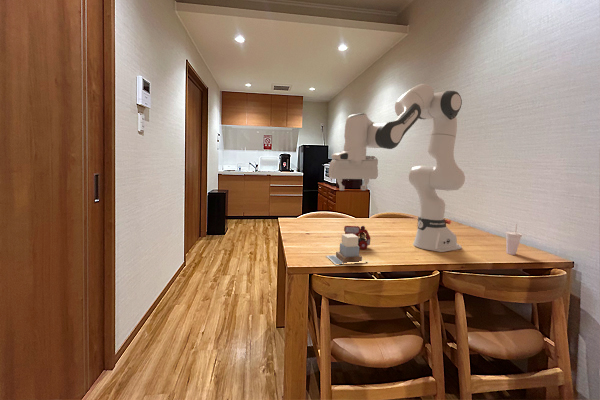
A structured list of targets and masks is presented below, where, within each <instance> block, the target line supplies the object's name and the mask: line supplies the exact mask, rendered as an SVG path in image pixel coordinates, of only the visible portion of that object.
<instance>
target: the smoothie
mask: <svg viewBox="0 0 600 400" xmlns="http://www.w3.org/2000/svg"><path fill="white" fill-rule="evenodd" d="M517 227H518V224H515V228H514V231H505V235H506V236H505V240H506V243H505V244H506V245H505V246H506V247H505V248H506V254H508V255H511V256H512V255H513V256H515V255H517V252H518V248H519V245H520V241H521V238H522V237H523V234H522V233H520V232H517Z"/></svg>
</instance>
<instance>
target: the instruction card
mask: <svg viewBox="0 0 600 400" xmlns="http://www.w3.org/2000/svg"><path fill="white" fill-rule="evenodd" d="M325 258H326V259H328V260H329V259H330V260H331V261H332V262H333V263H334V265H335V264H342V263H343V262H342V261H341V260H340V259H339V258H337V257H336V254H332V255H325ZM330 260H329V261H330ZM331 261H330V262H331ZM332 262H331V263H332ZM333 263H332V264H333ZM343 264H344V263H343Z"/></svg>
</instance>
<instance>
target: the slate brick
mask: <svg viewBox="0 0 600 400" xmlns="http://www.w3.org/2000/svg"><path fill="white" fill-rule="evenodd" d="M341 243H342V242H341ZM341 243H339V252H340V253H341V254H342V255H343V256H345V257H354V256H359V255H360V248H359V246H356V247H346V246H344V245H343V244H341Z"/></svg>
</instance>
